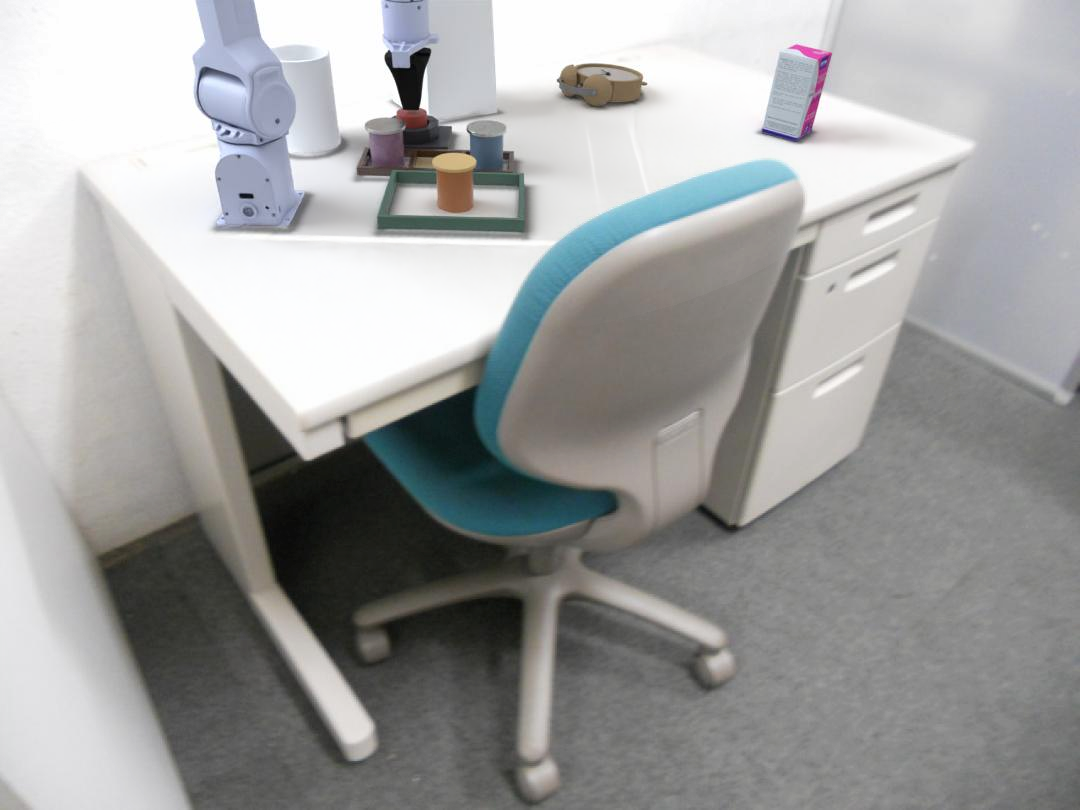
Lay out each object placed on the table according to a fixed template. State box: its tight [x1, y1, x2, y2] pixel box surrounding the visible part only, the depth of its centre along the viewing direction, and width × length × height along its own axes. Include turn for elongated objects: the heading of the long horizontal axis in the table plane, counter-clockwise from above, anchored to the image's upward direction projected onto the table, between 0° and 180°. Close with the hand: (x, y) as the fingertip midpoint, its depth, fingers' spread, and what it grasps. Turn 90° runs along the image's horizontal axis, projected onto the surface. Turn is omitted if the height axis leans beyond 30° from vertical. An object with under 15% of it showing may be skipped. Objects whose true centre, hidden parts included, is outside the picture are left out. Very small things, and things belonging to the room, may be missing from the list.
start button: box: [396, 107, 427, 128], centre depth 110 cm, size 4×4×2 cm
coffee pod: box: [432, 153, 476, 214], centre depth 95 cm, size 5×5×5 cm
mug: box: [270, 43, 342, 155], centre depth 108 cm, size 12×8×12 cm
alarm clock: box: [556, 62, 648, 107], centre depth 130 cm, size 11×5×15 cm
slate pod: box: [465, 119, 507, 170], centre depth 104 cm, size 5×5×5 cm
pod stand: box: [356, 146, 515, 177], centre depth 105 cm, size 7×20×2 cm, turn 91°
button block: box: [390, 114, 453, 150], centre depth 111 cm, size 10×8×3 cm
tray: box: [376, 170, 525, 233], centre depth 96 cm, size 13×16×2 cm
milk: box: [391, 0, 498, 121], centre depth 117 cm, size 12×12×26 cm
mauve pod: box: [364, 117, 406, 167], centre depth 104 cm, size 5×5×5 cm
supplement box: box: [760, 43, 833, 142], centre depth 118 cm, size 6×6×12 cm
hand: (411, 108), depth 109 cm, fingers closed
